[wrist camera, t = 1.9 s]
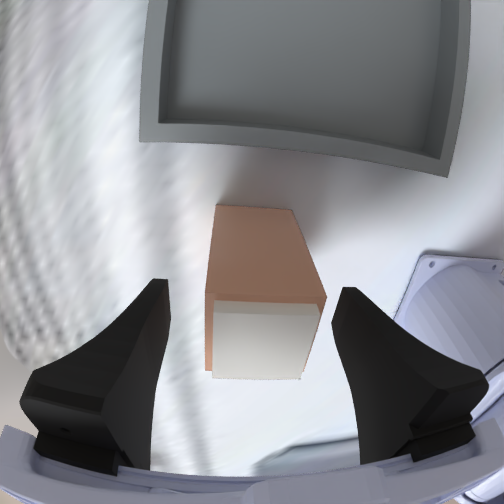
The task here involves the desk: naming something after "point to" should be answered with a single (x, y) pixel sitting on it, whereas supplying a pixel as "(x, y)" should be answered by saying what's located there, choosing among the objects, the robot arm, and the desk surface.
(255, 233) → the tan rectangular block
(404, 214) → the desk surface
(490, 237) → the desk surface
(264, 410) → the desk surface
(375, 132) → the tray
